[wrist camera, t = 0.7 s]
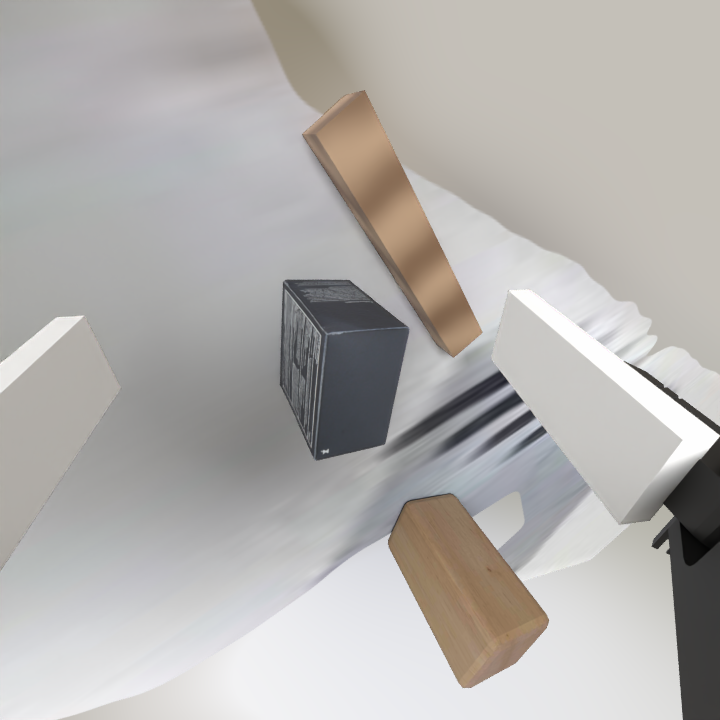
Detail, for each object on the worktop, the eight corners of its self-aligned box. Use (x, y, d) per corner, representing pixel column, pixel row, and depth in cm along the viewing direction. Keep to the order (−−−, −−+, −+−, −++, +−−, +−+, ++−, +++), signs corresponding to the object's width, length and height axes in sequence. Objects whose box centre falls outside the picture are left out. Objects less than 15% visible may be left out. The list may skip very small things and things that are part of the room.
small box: (341, 378, 36) (389, 448, 28) (278, 386, 34) (310, 465, 26) (354, 278, 31) (416, 328, 23) (281, 278, 29) (322, 334, 21)
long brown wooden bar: (300, 134, 25) (315, 134, 22) (343, 95, 24) (364, 90, 22) (434, 342, 40) (453, 357, 37) (461, 319, 40) (482, 332, 37)
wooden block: (454, 490, 58) (555, 620, 42) (432, 531, 62) (517, 664, 46) (404, 499, 53) (498, 649, 37) (383, 543, 57) (461, 695, 41)
